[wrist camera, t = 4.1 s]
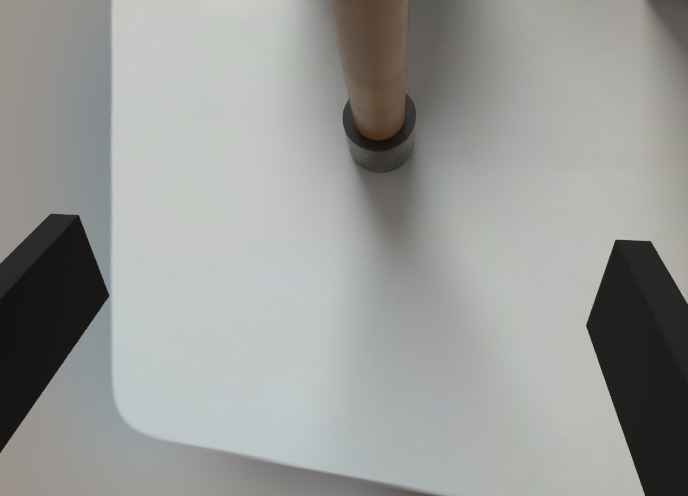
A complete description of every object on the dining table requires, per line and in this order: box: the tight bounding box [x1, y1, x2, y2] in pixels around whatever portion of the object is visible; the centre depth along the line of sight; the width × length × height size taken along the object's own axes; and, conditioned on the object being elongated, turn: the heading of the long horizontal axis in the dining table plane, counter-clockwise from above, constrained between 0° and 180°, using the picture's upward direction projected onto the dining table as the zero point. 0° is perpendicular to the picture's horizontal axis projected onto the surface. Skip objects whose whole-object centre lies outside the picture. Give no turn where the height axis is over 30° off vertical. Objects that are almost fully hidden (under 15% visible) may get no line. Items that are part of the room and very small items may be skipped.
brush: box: [328, 0, 416, 172], centre depth 24 cm, size 4×4×18 cm
